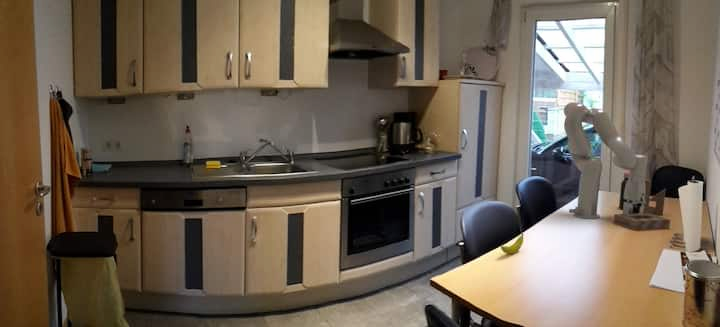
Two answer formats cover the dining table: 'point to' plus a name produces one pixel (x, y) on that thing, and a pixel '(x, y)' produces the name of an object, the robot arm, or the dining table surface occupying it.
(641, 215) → the post base
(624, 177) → the bottle
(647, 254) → the dining table surface
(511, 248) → the banana
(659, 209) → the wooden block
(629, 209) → the grey bar
